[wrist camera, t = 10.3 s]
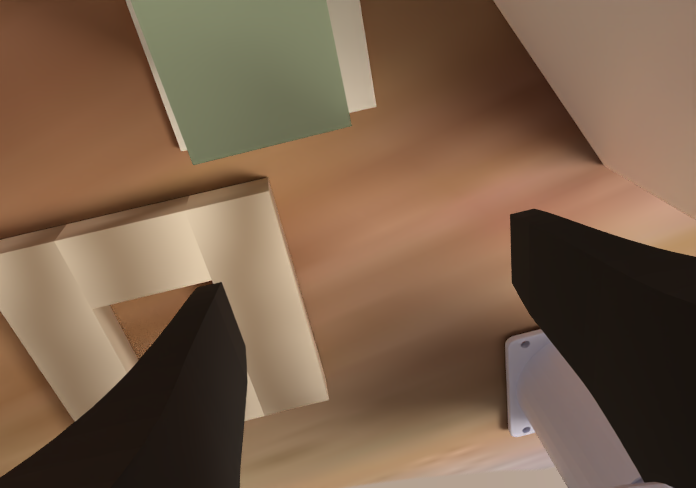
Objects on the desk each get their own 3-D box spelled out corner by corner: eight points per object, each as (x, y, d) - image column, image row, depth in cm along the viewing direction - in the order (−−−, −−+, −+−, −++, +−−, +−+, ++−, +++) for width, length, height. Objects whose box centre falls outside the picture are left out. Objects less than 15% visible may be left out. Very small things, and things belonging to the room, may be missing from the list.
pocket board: (268, 177, 22) (268, 191, 20) (325, 379, 28) (329, 400, 26) (-15, 243, 21) (-33, 261, 20) (106, 434, 27) (99, 457, 26)
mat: (337, -134, 17) (338, -136, 17) (375, 104, 21) (376, 106, 21) (96, -84, 16) (94, -84, 16) (182, 149, 20) (181, 151, 20)
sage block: (292, -51, 17) (314, -59, 11) (319, 67, 19) (352, 126, 13) (178, -24, 17) (124, -15, 10) (217, 92, 19) (193, 164, 12)
